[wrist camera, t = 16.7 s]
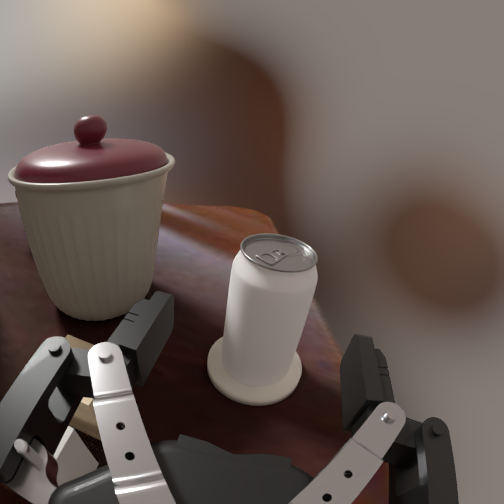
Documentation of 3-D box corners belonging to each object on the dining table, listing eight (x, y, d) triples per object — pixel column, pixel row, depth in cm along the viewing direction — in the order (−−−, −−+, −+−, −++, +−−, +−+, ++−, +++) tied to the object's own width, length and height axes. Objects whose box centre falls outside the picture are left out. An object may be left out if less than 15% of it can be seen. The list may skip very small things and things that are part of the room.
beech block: (109, 444, 18) (88, 405, 15) (59, 420, 18) (33, 376, 15) (131, 399, 22) (120, 354, 19) (85, 380, 22) (68, 334, 20)
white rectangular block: (75, 512, 11) (40, 489, 9) (23, 479, 12) (-17, 445, 9) (99, 463, 16) (74, 428, 13) (48, 436, 16) (18, 395, 13)
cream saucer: (249, 422, 22) (250, 417, 22) (189, 357, 28) (189, 350, 27) (317, 375, 28) (320, 368, 27) (257, 326, 33) (258, 319, 33)
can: (301, 364, 28) (338, 256, 22) (257, 401, 23) (288, 285, 18) (253, 330, 31) (273, 225, 26) (206, 358, 27) (215, 242, 21)
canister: (19, 344, 23) (-28, 137, 14) (53, 259, 38) (41, 116, 28) (179, 341, 29) (189, 120, 20) (165, 255, 44) (173, 111, 35)
